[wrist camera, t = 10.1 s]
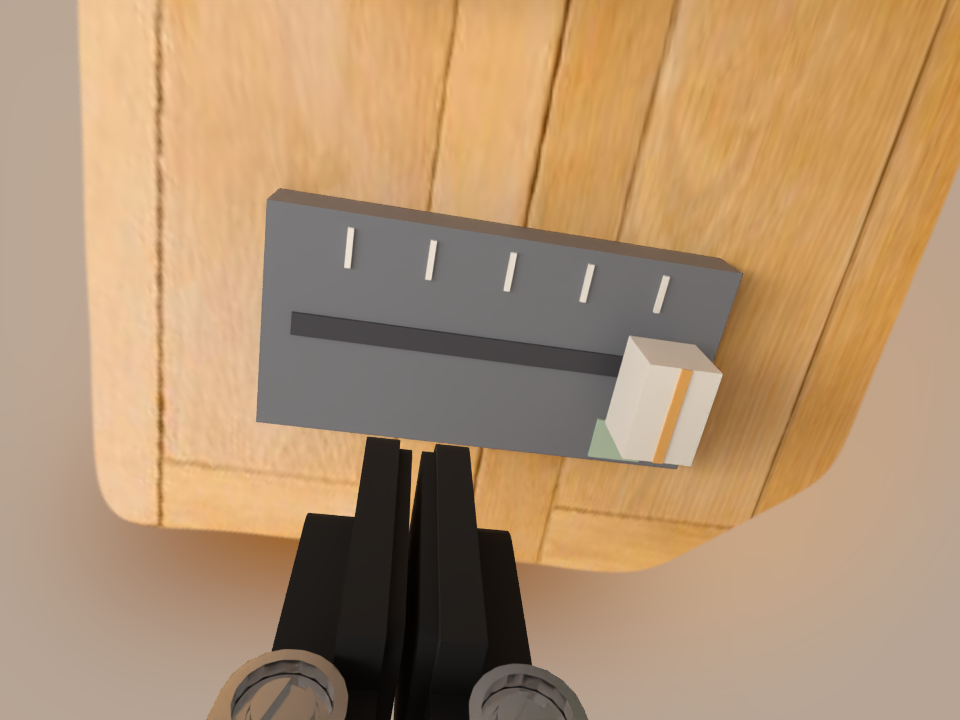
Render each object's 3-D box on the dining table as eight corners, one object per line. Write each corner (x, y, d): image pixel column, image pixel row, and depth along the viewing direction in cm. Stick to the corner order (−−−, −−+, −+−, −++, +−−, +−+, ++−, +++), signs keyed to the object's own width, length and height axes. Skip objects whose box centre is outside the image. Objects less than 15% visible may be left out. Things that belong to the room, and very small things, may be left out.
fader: (621, 324, 35) (651, 365, 30) (684, 333, 35) (724, 375, 31) (598, 409, 37) (622, 459, 32) (658, 416, 37) (691, 467, 33)
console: (279, 188, 34) (266, 200, 31) (719, 258, 37) (744, 274, 35) (268, 396, 39) (255, 423, 36) (660, 442, 42) (677, 471, 39)
